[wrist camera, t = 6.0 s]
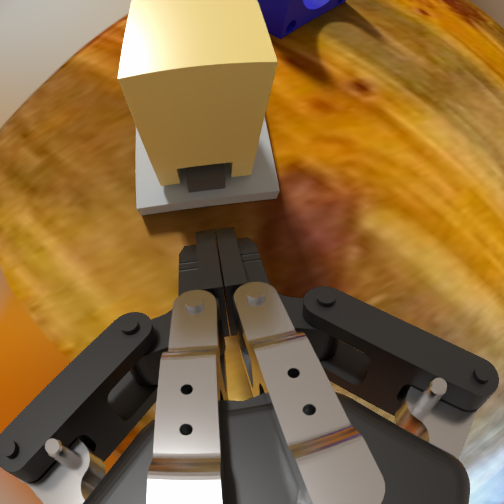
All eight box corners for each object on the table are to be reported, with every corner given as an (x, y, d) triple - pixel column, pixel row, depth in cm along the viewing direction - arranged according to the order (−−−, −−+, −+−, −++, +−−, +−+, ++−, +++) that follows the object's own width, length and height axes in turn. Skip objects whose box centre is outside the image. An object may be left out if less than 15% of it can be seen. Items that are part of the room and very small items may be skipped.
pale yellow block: (239, 104, 18) (253, -12, 9) (251, 175, 17) (277, 61, 9) (158, 113, 17) (131, 0, 9) (160, 186, 17) (117, 78, 8)
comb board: (240, 28, 21) (245, -19, 16) (276, 198, 19) (295, 157, 14) (145, 38, 20) (136, -8, 15) (141, 215, 18) (115, 179, 13)
